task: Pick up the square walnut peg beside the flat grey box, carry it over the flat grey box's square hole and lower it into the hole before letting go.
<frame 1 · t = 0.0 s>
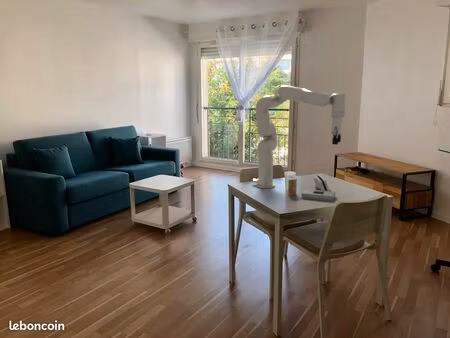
hand: (336, 143, 225), 31 cm above the table, tool pointing down, fingers open, 9 cm apart
peg: (292, 194, 230), on the table
flat grey box: (318, 197, 223), on the table
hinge: (321, 189, 241), on the table
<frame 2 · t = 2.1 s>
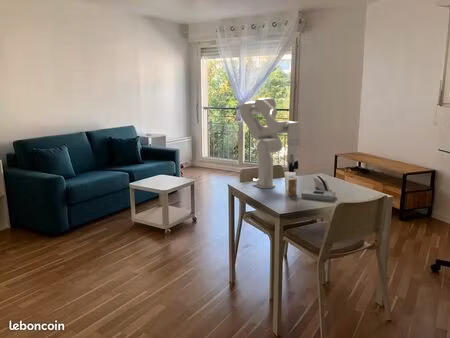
hand: (293, 170, 226), 15 cm above the table, tool pointing down, fingers open, 9 cm apart
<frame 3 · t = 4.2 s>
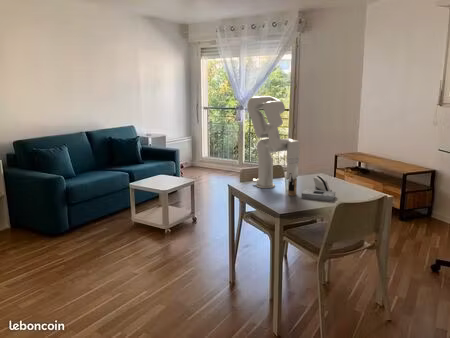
hand: (292, 189, 229), 3 cm above the table, tool pointing down, fingers closed on peg, 4 cm apart
peg: (292, 194, 230), on the table, touching gripper
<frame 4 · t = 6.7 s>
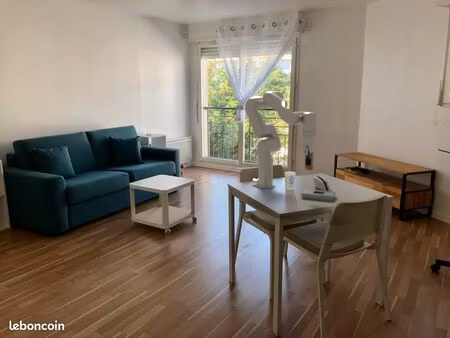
hand: (309, 164, 221), 20 cm above the table, tool pointing down, fingers closed on peg, 4 cm apart
peg: (309, 169, 222), point 17 cm above the table, touching gripper
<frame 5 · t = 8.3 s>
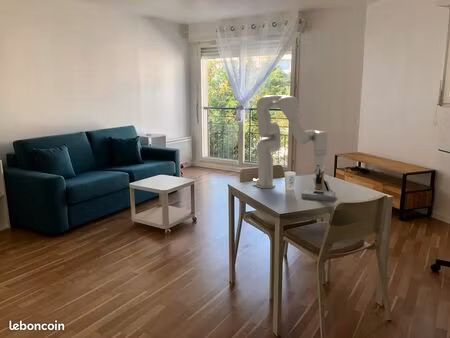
hand: (319, 182, 221), 9 cm above the table, tool pointing down, fingers closed on peg, 4 cm apart
peg: (319, 187, 221), point 6 cm above the table, touching gripper
when the fingers open (5 cm above the table, at t = 9.5 s): peg drops 1 cm, resting in flat grey box.
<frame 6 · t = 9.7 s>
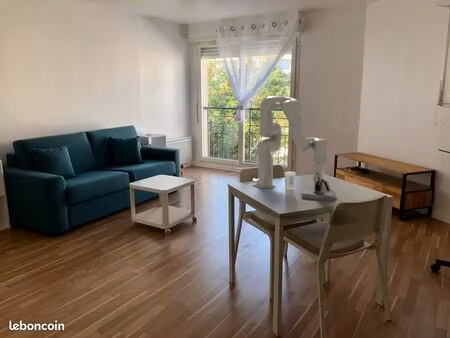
hand: (318, 189, 222), 5 cm above the table, tool pointing down, fingers open, 6 cm apart
peg: (318, 197, 223), resting in flat grey box
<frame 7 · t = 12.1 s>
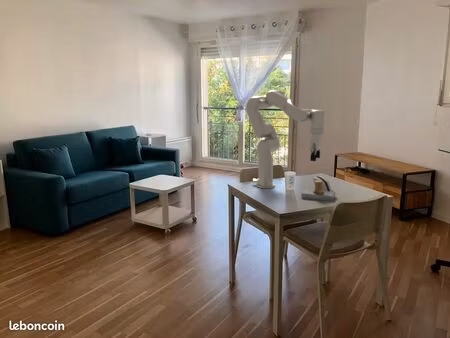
hand: (315, 159, 224), 22 cm above the table, tool pointing down, fingers open, 9 cm apart
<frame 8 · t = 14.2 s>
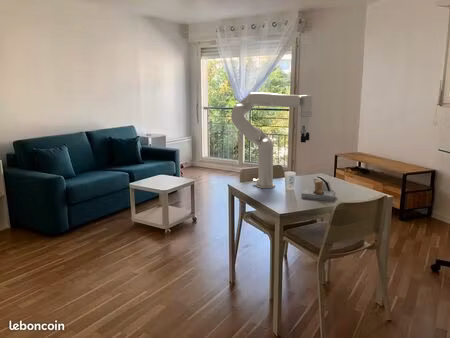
hand: (305, 141, 241), 30 cm above the table, tool pointing down, fingers open, 9 cm apart
at the end: peg 0.0 cm off-centre on the flat grey box, point 0.0 cm above the flat grey box's base; peg tilted 0°; the gripper is holding nothing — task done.
